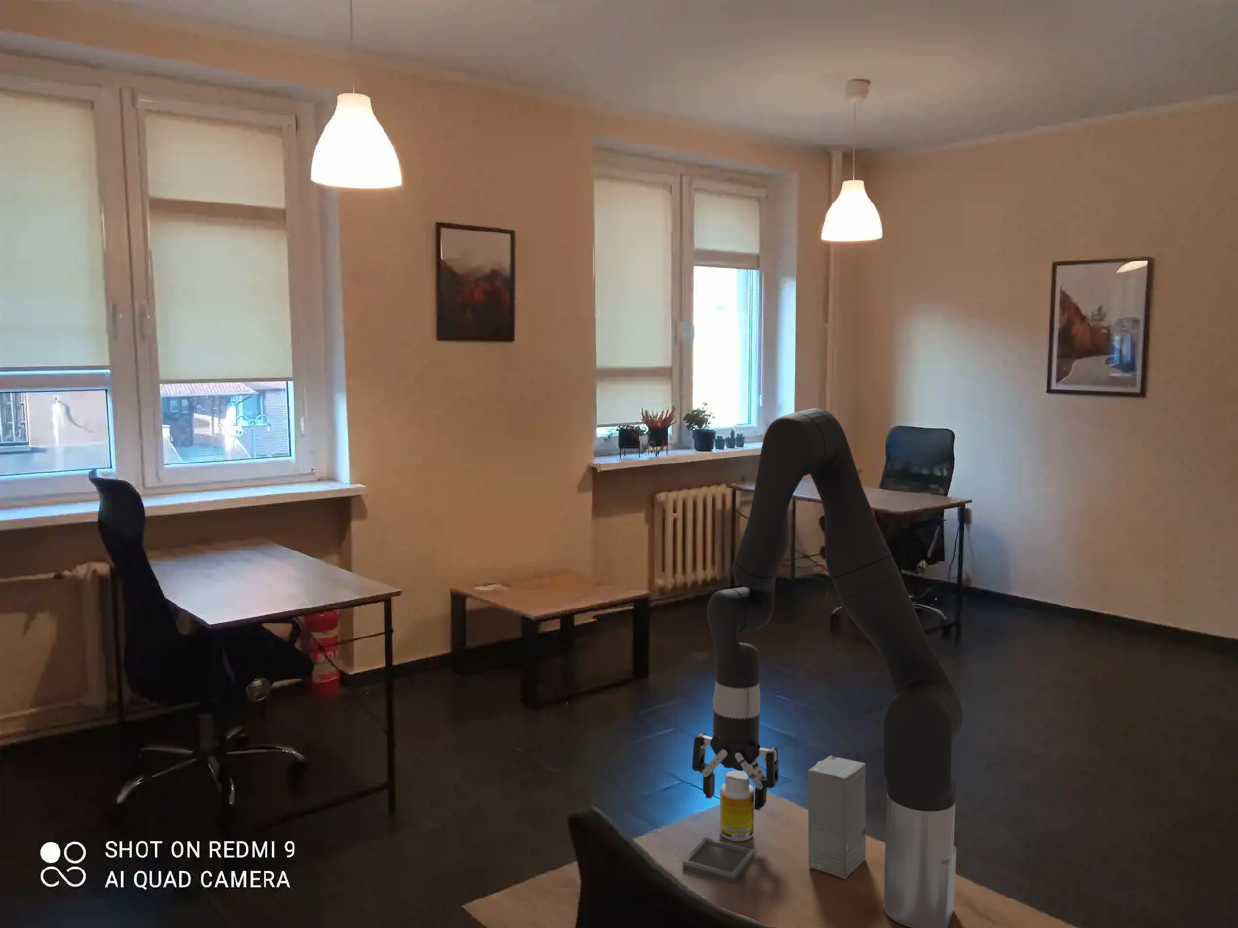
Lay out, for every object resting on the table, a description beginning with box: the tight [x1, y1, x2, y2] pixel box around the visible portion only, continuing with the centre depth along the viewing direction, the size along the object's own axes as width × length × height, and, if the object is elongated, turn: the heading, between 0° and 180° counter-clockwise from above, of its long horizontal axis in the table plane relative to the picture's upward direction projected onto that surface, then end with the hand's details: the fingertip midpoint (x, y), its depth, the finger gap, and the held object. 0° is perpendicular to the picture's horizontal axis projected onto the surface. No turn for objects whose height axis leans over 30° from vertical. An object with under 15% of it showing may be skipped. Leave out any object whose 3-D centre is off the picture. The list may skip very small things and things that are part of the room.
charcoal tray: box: [682, 837, 755, 884], centre depth 152 cm, size 8×8×1 cm
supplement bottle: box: [719, 770, 755, 842], centre depth 161 cm, size 6×6×10 cm
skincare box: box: [807, 755, 867, 880], centre depth 151 cm, size 8×7×16 cm
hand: (733, 802), depth 161 cm, fingers open, 8 cm apart
